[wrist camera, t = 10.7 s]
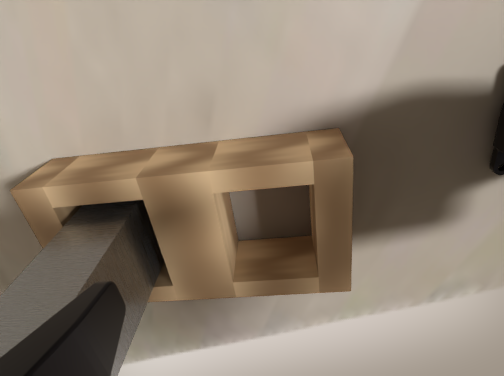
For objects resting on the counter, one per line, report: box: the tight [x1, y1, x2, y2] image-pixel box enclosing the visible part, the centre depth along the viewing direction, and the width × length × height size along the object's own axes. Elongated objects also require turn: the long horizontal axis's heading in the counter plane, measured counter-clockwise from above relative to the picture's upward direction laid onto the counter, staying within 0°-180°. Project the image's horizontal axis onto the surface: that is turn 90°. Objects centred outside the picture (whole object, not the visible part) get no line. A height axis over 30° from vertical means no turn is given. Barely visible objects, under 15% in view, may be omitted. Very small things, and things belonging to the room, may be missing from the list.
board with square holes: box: [10, 128, 353, 302], centre depth 21 cm, size 18×9×4 cm, turn 98°
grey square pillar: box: [0, 200, 164, 376], centre depth 17 cm, size 4×5×13 cm
